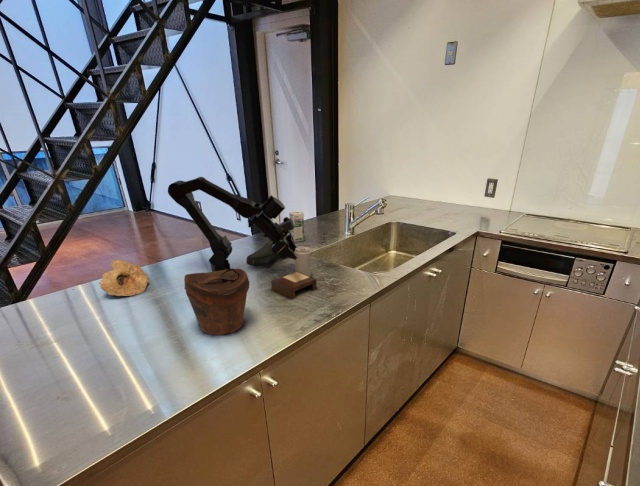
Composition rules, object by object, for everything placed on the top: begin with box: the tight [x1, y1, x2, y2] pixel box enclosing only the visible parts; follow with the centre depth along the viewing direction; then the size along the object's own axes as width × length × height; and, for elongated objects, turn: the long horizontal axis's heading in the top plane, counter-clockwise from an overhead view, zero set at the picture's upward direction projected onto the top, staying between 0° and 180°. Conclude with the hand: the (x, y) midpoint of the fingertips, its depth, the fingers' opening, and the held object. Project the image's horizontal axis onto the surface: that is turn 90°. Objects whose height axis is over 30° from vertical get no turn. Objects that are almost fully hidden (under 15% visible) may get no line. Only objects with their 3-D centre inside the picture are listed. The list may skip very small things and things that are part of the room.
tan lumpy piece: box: [98, 258, 150, 297], centre depth 139 cm, size 18×14×8 cm
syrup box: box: [288, 210, 305, 243], centre depth 196 cm, size 6×6×14 cm
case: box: [183, 268, 250, 336], centre depth 114 cm, size 18×20×18 cm
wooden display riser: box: [270, 271, 317, 300], centre depth 142 cm, size 13×11×4 cm
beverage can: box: [294, 246, 312, 277], centre depth 152 cm, size 6×6×12 cm
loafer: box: [245, 235, 295, 268], centre depth 168 cm, size 10×29×10 cm, turn 152°
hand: (297, 254), depth 150 cm, fingers open, 9 cm apart
